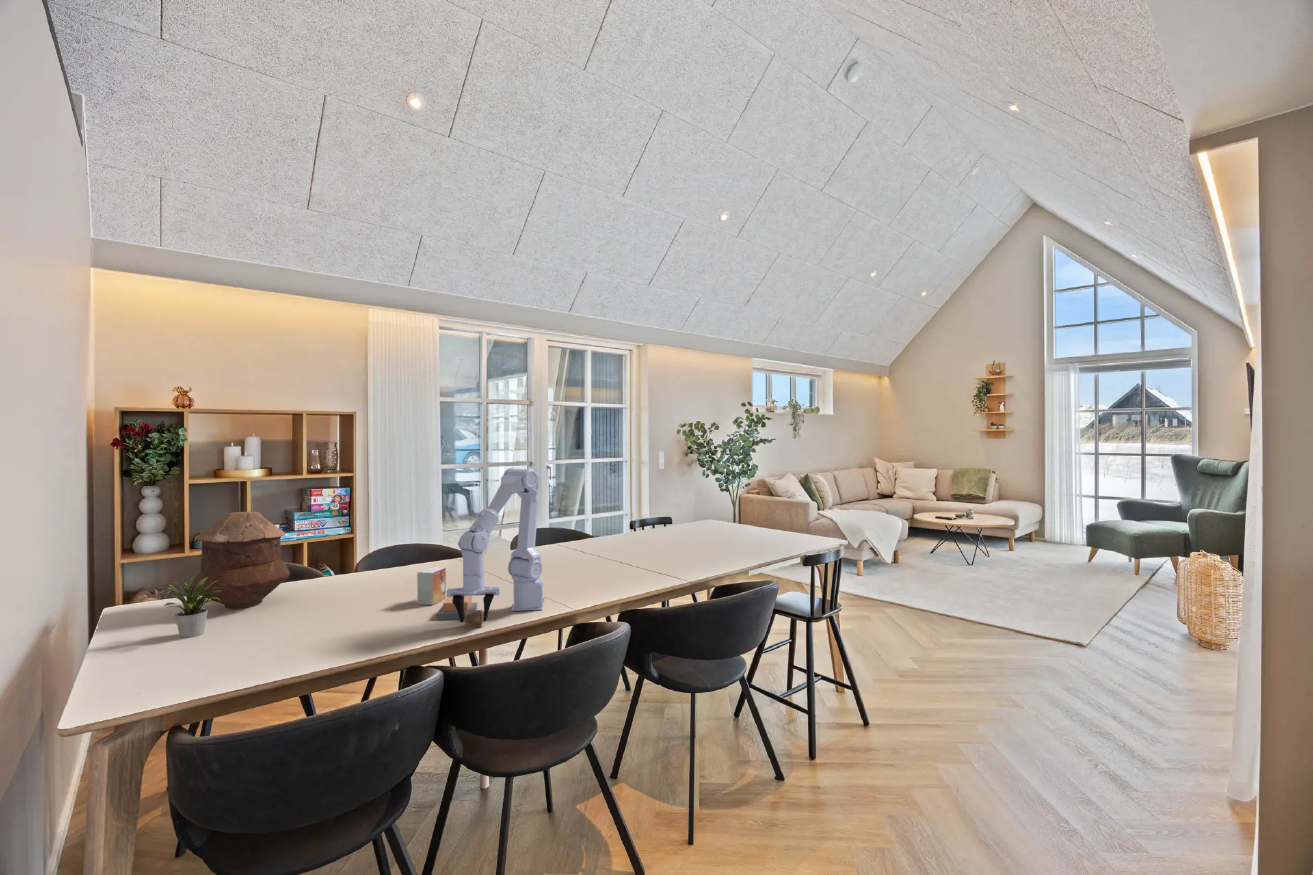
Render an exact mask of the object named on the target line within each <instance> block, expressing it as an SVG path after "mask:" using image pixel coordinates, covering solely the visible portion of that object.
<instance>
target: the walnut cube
mask: <svg viewBox="0 0 1313 875" xmlns="http://www.w3.org/2000/svg"><path fill="white" fill-rule="evenodd" d="M464 623H465V624H464V627H465V629H481V627H482V625H483V609H477V610H468V611H467V613H466V614H465V619H464Z"/></svg>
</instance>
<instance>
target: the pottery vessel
mask: <svg viewBox="0 0 1313 875" xmlns="http://www.w3.org/2000/svg"><path fill="white" fill-rule="evenodd" d="M285 535H286V532H285V531H283V530H282V529H281V528H279V527H277V525H275V524H273V523H272V522H271V521H269V519H267V518H265V517H264V515H263V514H261V513H260V512H258V511H237V512H235V511H234V512H229V513H226V514H225V515H224V516H222V517H221V518H219V519H218V520H216V521H215V522H214V523H213V524H211V526H209V527H208V528H207V529H205V530H204V531H203V532H200V533H198V534H196V535H195V536H194V540H196V541H197V542H201V548H200V549H201V555H200V556H201V558H200V564H199V565H200V570H199V571H198V573H197V574H196V575H195V577H194V578H193V579H192V584H193V585H192V593H193V592H194V589H195V588H196V586H197V585H198V583H199V582H200V581H201V580H203V579H204V578H205V577H208V578H207V579H206V581H205V585H204V586H203V587H204V588H207V587H208V585H210V584H211V585H210V586H209V587H208V588H207V589H206V590H205V589H204V588H202V591H201V593H200V595H201V594H204V593H209V592H212V591H221V592H217V593H215V594H213V595H210V596H209V597H208V598H212V597H217V598H219V600H218V599H213V598H212V599H209V600H214V602H215V603H218V604H221V605H223V606H224V608H225V609H226V610H239V609H241V610H242V609H247V608H250V607H251V608H252V607H255V606H258V605H260V604H262V603H263V600H264V599H265V598H266V597H267V596H268V595H269V594H271V593H272V592H273V591H274V590H275V589H276V588H277V587H279V586H280V585H281V584H282V583H283V582H285V581H286V580H287V579H288V578H289V577H290V575H291V572H290V570H289V568H288V566H287V565H286V563H285V561H283V560H282V558H281V556H282V553H281V552H282V551H281V537H284V536H285ZM217 580H218V581H217ZM215 581H216V582H215ZM213 582H214V583H213ZM212 583H213V584H212ZM205 586H206V587H205ZM204 590H205V591H204ZM203 591H204V592H203ZM202 596H203V595H202ZM202 596H201V597H202ZM208 598H207V599H208ZM207 599H206V600H207Z"/></svg>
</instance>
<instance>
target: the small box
mask: <svg viewBox="0 0 1313 875" xmlns="http://www.w3.org/2000/svg"><path fill="white" fill-rule="evenodd" d="M446 572H447V569H446V567H439V566H436V567H435V566H431V567H429V568H426V569H423V570H421V571H417V573H416V574H417V578H416V579H417V582H416V583H417V586H416V589H417V590H416V591H417V595H416V596H417V605H423V606H424V605H425V606H433V605H435V604H437V603H439V602H442V601H445V600H446V599H447V589H446V588H447V586H446V585H447V582H446V581H447V576H446V574H447V573H446Z"/></svg>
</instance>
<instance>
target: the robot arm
mask: <svg viewBox="0 0 1313 875" xmlns="http://www.w3.org/2000/svg"><path fill="white" fill-rule="evenodd" d="M539 484H540V474H538V472H536V470H534V469H532V468H513V467H509V468H507V469H506V470H505V471H504V472H503V475H502V476H501V477H500V486H499V487H498V488H497V491H496V492H495V494H494V496H493V497H492V499H491V502H490V504H488V505H489V506H488V507H487V508H484V509H482V510H481V511H479V513H478V514H477V517H476V518H475V520H474V522H473V523H472V524H471V526H470V527H469V529H468V530H467V531H465V532H464V533H462V535H460V538H459V541H458V542H457V544H458V548H459V549H460V551H461V556H462V579H463V580H462V587H455V588H448V589H446V598H448V597H453V599H452V602H453V604H454V605H455V607H456V609H457V612H458V614H459V618H460V619H459V623H463V622H465V619H464V596H472V597H473V596H484V597H483V598H482V599H483V600H482V601H483V622H487V621H488V616H489V611H490V607H491V605H492V601H493V599H494V597H495V596H500V594H501V586H486V585H485V550H486V549H487V548H488V547H489V544H490V543H489V542H490V537H491V534H492V532H493V530H494V529H495V527H496V525H497V523H498V522H499V520H500V518H499V513H500V512H501V511H502V509H503V508H504V507H505V505H506V504H507V502H509V500H510V498H511V497H512V496H513V495H515V494H517V496H519V498H520V513H519V522H518V523H519V524H518V535H517V548H516V549H514V550H513V551H512V552H511V553H510V560H509V562H508V565H507V571H508V574H509V575H510V576H511V579H512V580H513V603H512V606H511V608H510V611H511V612H519V611H541V610H543V609H544V603H545V596H544V578H540V576H541V575H542V571H543V564H542V555H541V553H539V551H538V550H536V539H537V538H536V537H537V527H538V526H537V525H538V524H537V523H538V514H539V513H538V512H539V510H538V509H539V499H540V491H539V486H540V485H539Z"/></svg>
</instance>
